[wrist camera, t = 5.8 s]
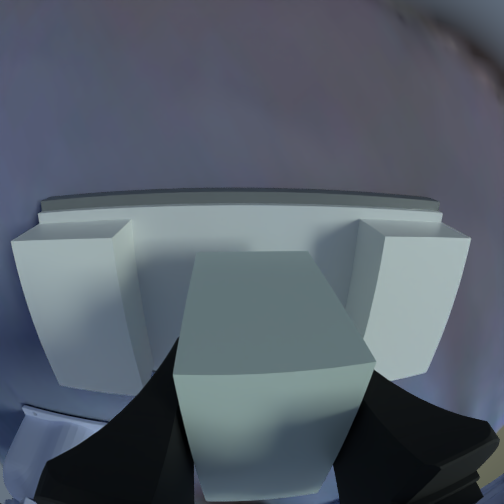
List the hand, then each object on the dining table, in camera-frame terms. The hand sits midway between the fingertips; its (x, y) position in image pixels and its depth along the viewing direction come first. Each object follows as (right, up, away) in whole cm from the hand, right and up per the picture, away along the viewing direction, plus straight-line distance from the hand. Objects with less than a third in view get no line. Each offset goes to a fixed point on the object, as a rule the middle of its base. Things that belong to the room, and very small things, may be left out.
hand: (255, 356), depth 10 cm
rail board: (0, +2, +5) cm, 5 cm away
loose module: (0, +1, +2) cm, 2 cm away
